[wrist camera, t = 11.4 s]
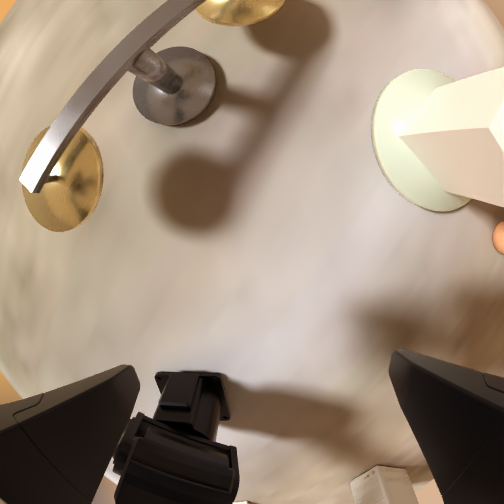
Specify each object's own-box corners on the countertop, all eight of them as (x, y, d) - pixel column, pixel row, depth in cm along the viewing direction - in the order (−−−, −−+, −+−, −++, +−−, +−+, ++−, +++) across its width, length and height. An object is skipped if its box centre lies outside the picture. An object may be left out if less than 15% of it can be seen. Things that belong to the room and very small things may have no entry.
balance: (124, 223, 21) (43, 268, 12) (74, 180, 20) (-16, 200, 11) (300, 10, 16) (319, -71, 6) (237, -24, 15) (221, -104, 5)
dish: (481, 207, 19) (490, 209, 18) (375, 211, 20) (381, 214, 19) (473, 83, 16) (480, 81, 15) (361, 65, 17) (366, 61, 16)
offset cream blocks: (444, 191, 18) (574, 233, 6) (397, 136, 17) (535, 126, 5) (478, 142, 17) (600, 153, 5) (435, 88, 16) (559, 54, 4)
